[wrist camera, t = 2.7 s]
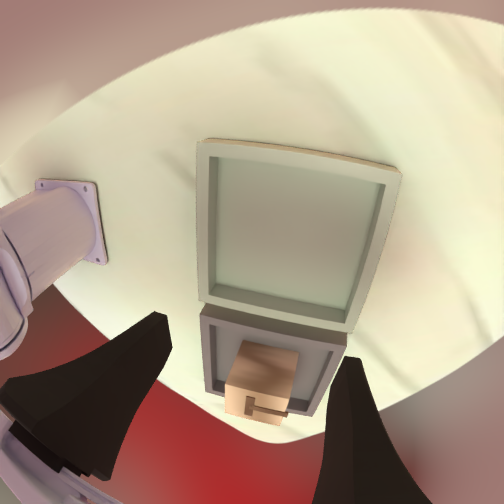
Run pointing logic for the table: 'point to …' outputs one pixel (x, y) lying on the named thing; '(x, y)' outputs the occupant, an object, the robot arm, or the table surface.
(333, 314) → the sage tray
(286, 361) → the letter cube
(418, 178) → the table surface
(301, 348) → the charcoal tray
